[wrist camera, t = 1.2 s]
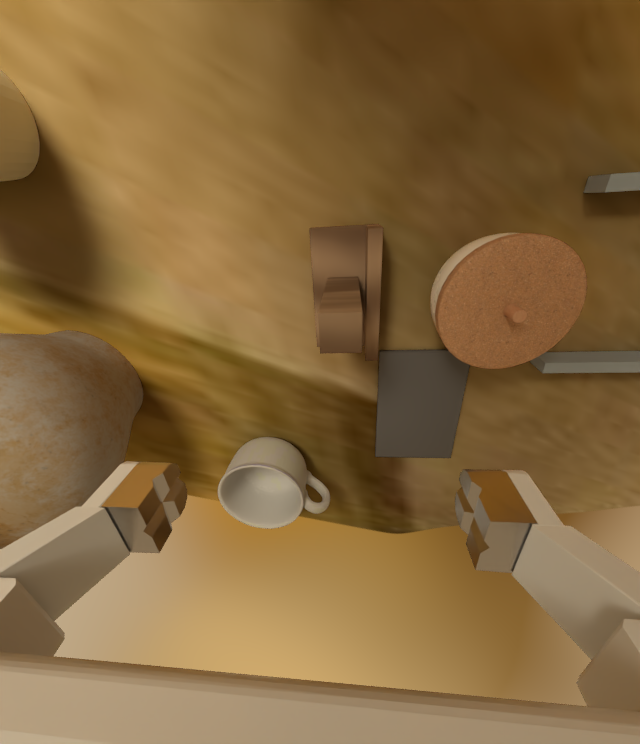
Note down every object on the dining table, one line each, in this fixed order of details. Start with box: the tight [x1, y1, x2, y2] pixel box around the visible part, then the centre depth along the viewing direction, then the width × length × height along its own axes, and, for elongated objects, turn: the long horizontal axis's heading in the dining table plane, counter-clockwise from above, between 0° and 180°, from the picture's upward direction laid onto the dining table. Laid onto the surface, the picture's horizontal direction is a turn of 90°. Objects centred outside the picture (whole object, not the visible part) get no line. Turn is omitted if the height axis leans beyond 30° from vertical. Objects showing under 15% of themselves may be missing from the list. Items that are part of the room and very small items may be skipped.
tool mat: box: [375, 349, 470, 458], centre depth 38 cm, size 16×10×1 cm, turn 3°
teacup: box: [218, 437, 330, 529], centre depth 41 cm, size 14×11×8 cm
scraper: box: [309, 224, 383, 361], centre depth 26 cm, size 12×6×12 cm, turn 3°
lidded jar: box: [430, 233, 587, 369], centre depth 26 cm, size 11×11×9 cm
